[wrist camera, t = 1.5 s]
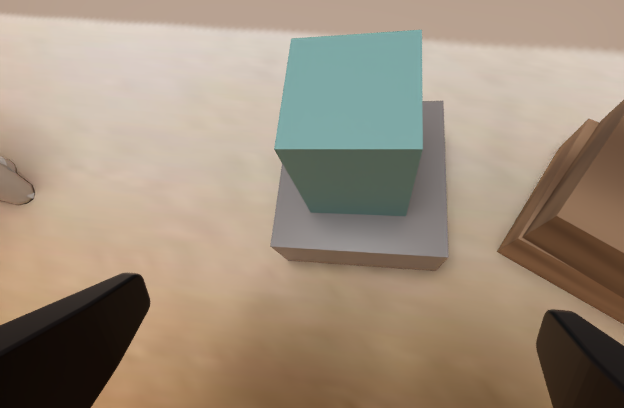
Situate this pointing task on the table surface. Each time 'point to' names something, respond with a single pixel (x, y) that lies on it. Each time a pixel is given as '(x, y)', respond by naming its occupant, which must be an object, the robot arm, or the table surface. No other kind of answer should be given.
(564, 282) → the tower lower
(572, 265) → the tower upper
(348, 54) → the teal block
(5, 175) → the tall pale column
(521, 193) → the table surface
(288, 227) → the grey flat square block
